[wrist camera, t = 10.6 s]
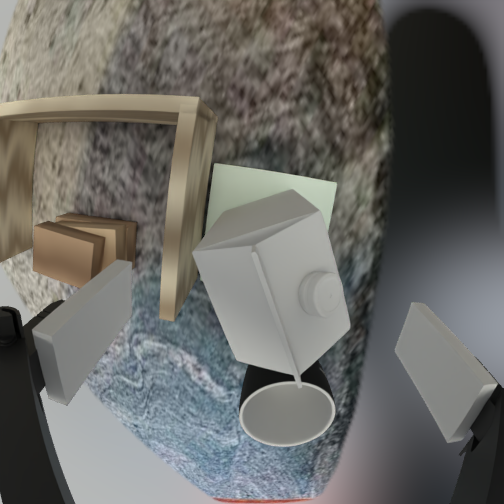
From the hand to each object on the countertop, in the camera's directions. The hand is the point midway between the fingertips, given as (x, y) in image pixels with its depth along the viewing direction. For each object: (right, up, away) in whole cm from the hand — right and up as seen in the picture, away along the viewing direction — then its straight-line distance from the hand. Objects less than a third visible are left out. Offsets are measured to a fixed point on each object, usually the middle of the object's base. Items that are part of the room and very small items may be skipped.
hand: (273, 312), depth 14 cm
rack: (-17, +10, +17) cm, 26 cm away
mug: (+3, -8, +22) cm, 24 cm away
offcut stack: (-18, +4, +19) cm, 26 cm away
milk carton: (+1, +4, +18) cm, 19 cm away
